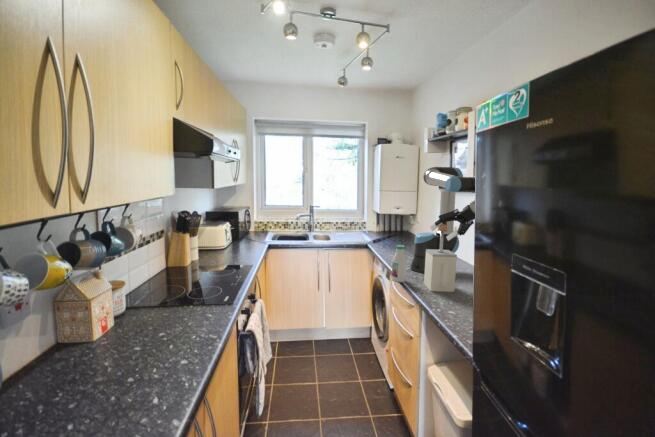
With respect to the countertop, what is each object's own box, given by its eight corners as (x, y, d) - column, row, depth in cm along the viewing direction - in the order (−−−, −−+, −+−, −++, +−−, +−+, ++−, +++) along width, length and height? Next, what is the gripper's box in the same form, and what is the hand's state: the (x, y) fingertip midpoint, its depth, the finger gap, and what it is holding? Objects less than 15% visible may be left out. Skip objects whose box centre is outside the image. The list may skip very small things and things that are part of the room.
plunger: (431, 268, 172) (434, 220, 169) (443, 268, 172) (447, 220, 169) (435, 271, 165) (438, 221, 162) (448, 272, 165) (451, 222, 162)
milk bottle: (404, 279, 183) (406, 244, 181) (406, 283, 176) (408, 247, 173) (391, 278, 184) (392, 244, 182) (392, 282, 176) (394, 246, 174)
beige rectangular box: (423, 283, 176) (426, 249, 173) (445, 284, 175) (448, 249, 173) (432, 293, 160) (435, 255, 158) (456, 294, 160) (459, 256, 158)
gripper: (461, 204, 150) (426, 229, 161) (490, 225, 162) (455, 248, 173) (456, 193, 155) (422, 219, 166) (484, 215, 167) (451, 237, 178)
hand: (439, 233), depth 170 cm, fingers open, 13 cm apart
